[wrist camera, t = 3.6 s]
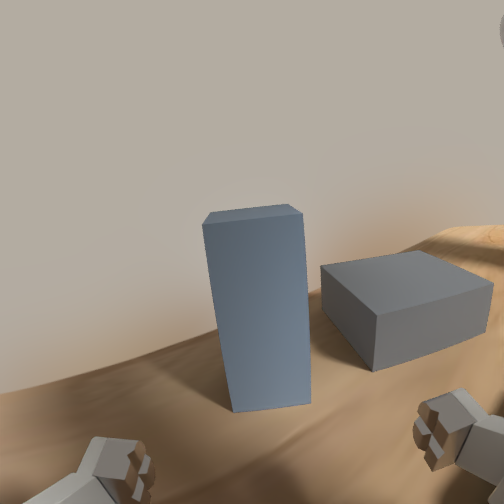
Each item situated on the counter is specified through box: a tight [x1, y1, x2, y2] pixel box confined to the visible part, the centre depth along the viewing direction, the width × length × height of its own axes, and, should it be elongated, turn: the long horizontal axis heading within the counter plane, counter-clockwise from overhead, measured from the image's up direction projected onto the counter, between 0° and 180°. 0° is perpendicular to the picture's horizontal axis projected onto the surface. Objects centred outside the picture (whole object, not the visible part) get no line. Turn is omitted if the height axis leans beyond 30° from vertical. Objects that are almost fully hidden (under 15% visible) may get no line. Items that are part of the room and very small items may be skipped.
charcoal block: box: [320, 250, 494, 372], centre depth 27 cm, size 12×12×5 cm
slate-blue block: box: [202, 204, 311, 413], centre depth 20 cm, size 5×5×12 cm
